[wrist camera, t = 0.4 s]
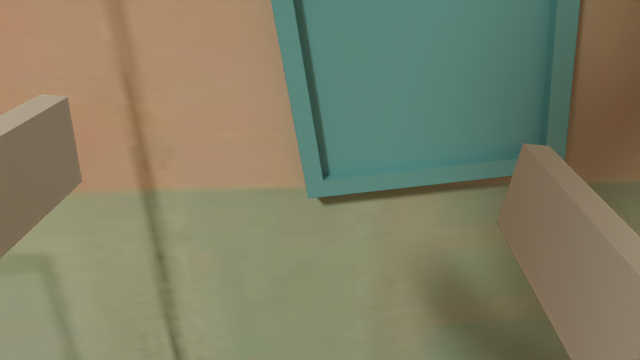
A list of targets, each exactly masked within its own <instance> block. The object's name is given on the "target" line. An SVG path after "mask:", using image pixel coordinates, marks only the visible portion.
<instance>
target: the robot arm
mask: <svg viewBox="0 0 640 360" xmlns="http://www.w3.org/2000/svg"><path fill="white" fill-rule="evenodd" d="M81 182H82V178H81V173H80V167H79V161H78V155H77V149H76V143H75V138H74V132H73V126H72V120H71V114H70V109H69V103H68V97H63V96H53V95H43V94H40V95H38V96H36V97H35V98H33V99H31V100H29V101H27V102H25V103H23V104H21V105H19V106H17V107H15V108H13V109H12V110H10V111H8V112H6V113H4V114H2V115H0V258H1V257H2V256H3V255H5V254H6V253H7V252H8V251H9V250H10V249H11V248H12V247H13V246H14V245H15V244H16V243H17V242H18V241H19V240H20V239H22V238H23V237H24V236H25V235H26V234H27V233H28V232H29V231H30V230H31V229H32V228H33V227H34V226H35V225H36V224H37V223H39V222H40V221H41V220H42V219H43V218H44V217H45V216H46V215H47V214H48V213H49V212H50V211H51V210H52V209H53V208H54V207H56V206H57V205H58V204H59V203H60V202H61V201H62V200H63V199H64V198H65V197H66V196H67V195H68V194H69V193H70V192H72V191H73V190H74V189H75V188H76V187H77V186H78V185H79V184H80V183H81ZM497 224H498V226H499V228H500V230H501V232H502V234H503V235H504V237H505V239H506V241H507V243H508V245H509V246H510V248H511V250H512V252H513V254H514V256H515V257H516V259H517V261H518V263H519V265H520V267H521V269H522V270H523V272H524V274H525V276H526V278H527V280H528V281H529V283H530V285H531V287H532V289H533V291H534V292H535V294H536V296H537V298H538V300H539V302H540V303H541V305H542V307H543V309H544V311H545V313H546V315H547V316H548V318H549V320H550V322H551V324H552V326H553V327H554V329H555V331H556V333H557V335H558V337H559V338H560V340H561V342H562V344H563V346H564V348H565V350H566V351H567V353H568V355H569V357H570V359H571V360H640V236H639V235H638V234H637V233H636V232H635V231H634V230H633V229H632V228H631V227H630V226H629V225H628V224H627V223H626V222H625V221H624V220H623V219H622V218H621V217H620V216H619V215H618V214H617V213H616V212H615V211H614V210H613V209H612V208H611V207H610V206H609V205H608V204H607V203H606V202H605V201H604V200H603V199H602V198H601V197H600V196H599V195H598V194H597V193H596V192H595V191H594V190H593V189H592V188H591V187H590V186H589V185H588V184H587V183H586V182H585V181H584V180H583V179H582V178H581V177H580V176H579V175H578V174H577V173H576V172H575V171H574V170H573V169H572V168H571V167H570V166H569V165H568V164H567V163H566V162H565V161H564V160H563V159H562V158H561V157H560V156H559V155H558V154H557V153H556V152H555V151H554V150H553V149H552V148H551V147H550V146H545V145H535V144H525V143H523V145H522V148H521V151H520V154H519V157H518V160H517V163H516V166H515V169H514V172H513V175H512V178H511V182H510V185H509V188H508V191H507V194H506V197H505V200H504V203H503V206H502V209H501V212H500V215H499V218H498V221H497Z"/></svg>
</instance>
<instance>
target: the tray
mask: <svg viewBox="0 0 640 360" xmlns="http://www.w3.org/2000/svg"><path fill="white" fill-rule="evenodd" d="M271 3H272V8H273V13H274V19H275V24H276V29H277V35H278V40H279V45H280V51H281V56H282V61H283V67H284V72H285V77H286V83H287V88H288V93H289V99H290V104H291V109H292V115H293V120H294V125H295V130H296V136H297V141H298V146H299V152H300V157H301V162H302V168H303V173H304V178H305V184H306V189H307V194H308V199H309V198H318V197H326V196H335V195H344V194H353V193H362V192H371V191H380V190H389V189H398V188H407V187H416V186H425V185H434V184H443V183H452V182H461V181H470V180H479V179H488V178H497V177H505V176H512V175H513V172H514V169H515V166H516V163H517V160H518V157H519V154H520V151H521V148H522V145H523V143H525V144H535V145H545V146H550V147H551V148H552V149H553V150H554V151H555V152H556V153H557V154H558V155H559V156H560V157H561V158H562V159H563V160H564V161H565V153H566V142H567V132H568V122H569V112H570V101H571V91H572V81H573V71H574V61H575V50H576V40H577V30H578V20H579V9H580V0H271Z"/></svg>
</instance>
